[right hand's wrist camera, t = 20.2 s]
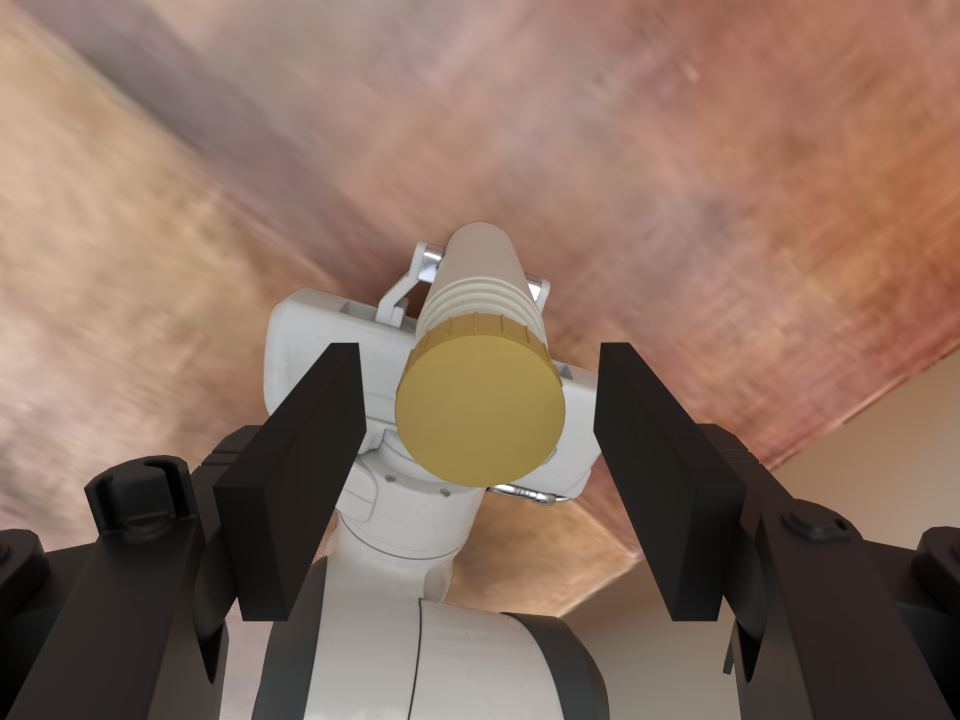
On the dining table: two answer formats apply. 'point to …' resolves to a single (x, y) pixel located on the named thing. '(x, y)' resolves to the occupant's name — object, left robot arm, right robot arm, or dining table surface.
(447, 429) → the cap
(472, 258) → the bottle
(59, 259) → the dining table surface
